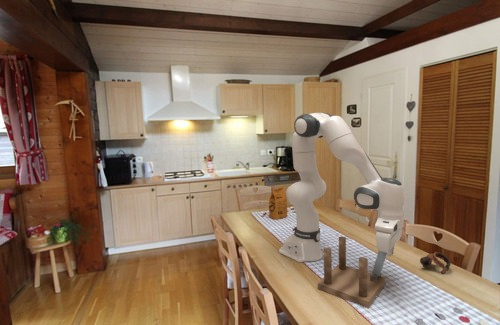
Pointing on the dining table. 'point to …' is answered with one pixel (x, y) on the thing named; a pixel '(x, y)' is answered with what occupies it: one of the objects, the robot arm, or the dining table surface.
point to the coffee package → (278, 204)
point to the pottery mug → (436, 261)
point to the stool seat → (350, 278)
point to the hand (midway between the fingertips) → (390, 254)
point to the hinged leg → (379, 263)
